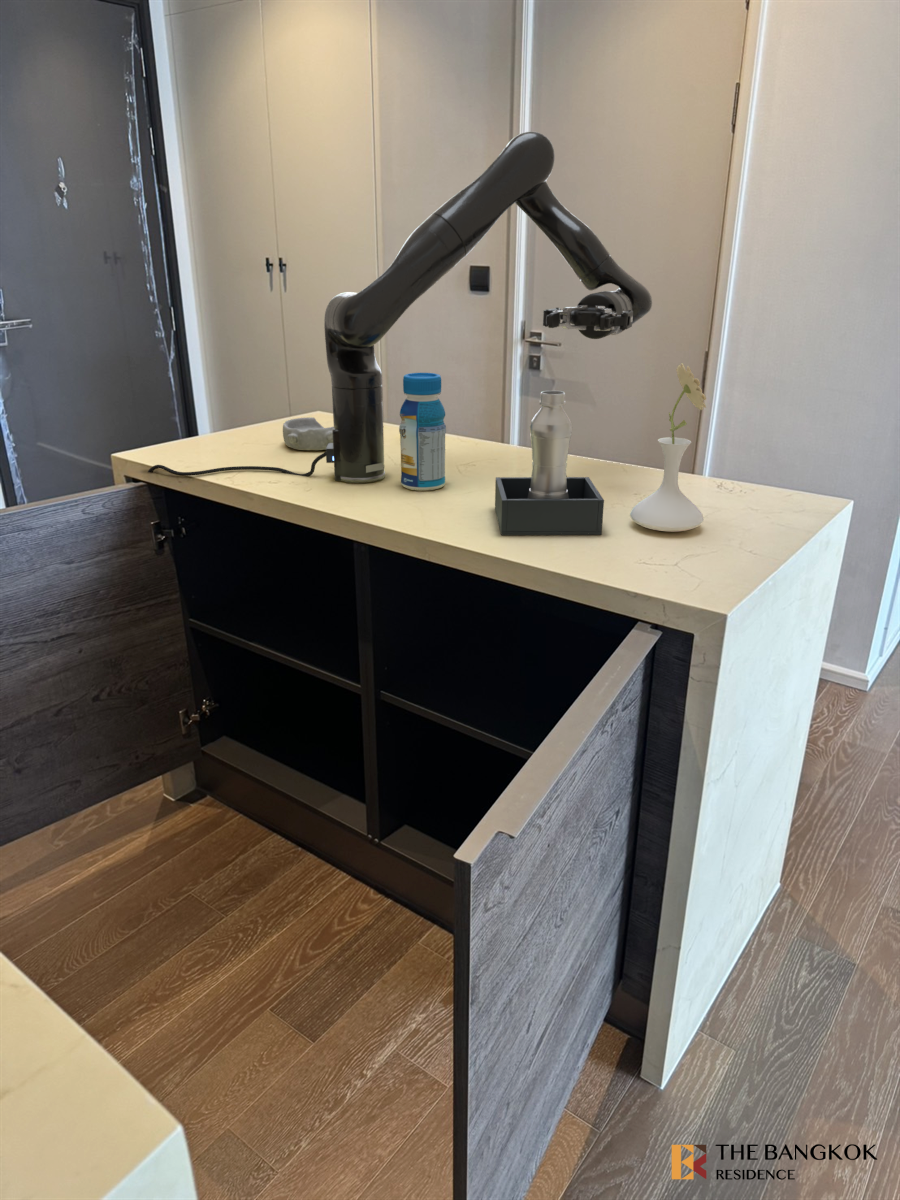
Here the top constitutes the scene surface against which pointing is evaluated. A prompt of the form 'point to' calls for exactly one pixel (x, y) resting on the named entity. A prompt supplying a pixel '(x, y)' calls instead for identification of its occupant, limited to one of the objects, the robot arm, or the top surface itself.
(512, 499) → the black open rectangular box
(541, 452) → the plastic bottle
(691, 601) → the top surface
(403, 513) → the top surface
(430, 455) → the beverage bottle
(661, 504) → the flower in vase
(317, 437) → the dish
